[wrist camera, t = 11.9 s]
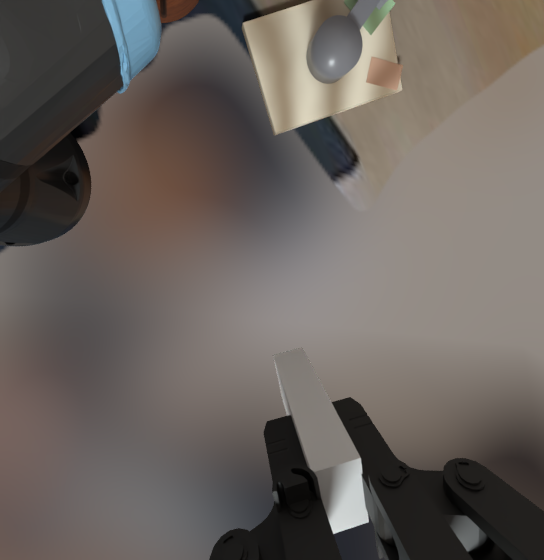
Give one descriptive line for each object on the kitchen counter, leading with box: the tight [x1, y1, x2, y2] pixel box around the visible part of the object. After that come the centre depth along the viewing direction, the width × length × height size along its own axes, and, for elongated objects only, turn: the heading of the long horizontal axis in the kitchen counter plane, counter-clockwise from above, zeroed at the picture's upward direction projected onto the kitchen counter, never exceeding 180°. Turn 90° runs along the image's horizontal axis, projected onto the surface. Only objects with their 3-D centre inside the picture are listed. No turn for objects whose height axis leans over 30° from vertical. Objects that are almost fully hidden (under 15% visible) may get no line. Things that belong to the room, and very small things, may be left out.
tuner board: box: [242, 0, 403, 135], centre depth 35 cm, size 17×12×1 cm
